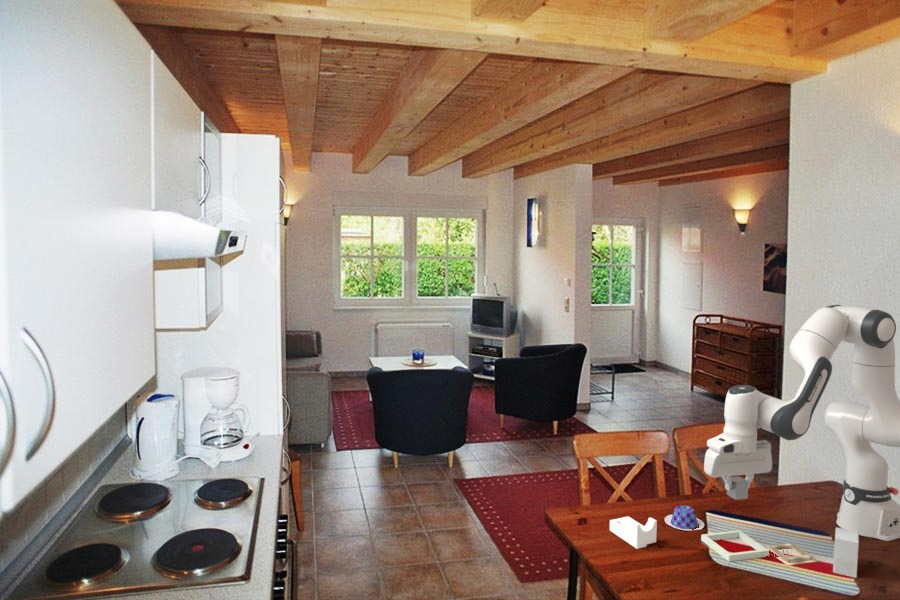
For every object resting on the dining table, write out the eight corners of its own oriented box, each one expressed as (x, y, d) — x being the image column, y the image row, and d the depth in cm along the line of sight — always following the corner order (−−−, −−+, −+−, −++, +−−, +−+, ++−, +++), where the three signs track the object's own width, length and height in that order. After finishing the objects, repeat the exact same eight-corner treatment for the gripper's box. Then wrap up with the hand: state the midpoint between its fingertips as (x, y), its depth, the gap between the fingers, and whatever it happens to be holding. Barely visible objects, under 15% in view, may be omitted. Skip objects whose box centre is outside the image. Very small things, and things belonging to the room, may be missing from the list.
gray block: (738, 493, 192) (739, 476, 191) (747, 498, 188) (748, 481, 187) (726, 494, 191) (727, 477, 190) (735, 499, 187) (736, 482, 186)
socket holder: (792, 547, 193) (792, 541, 193) (818, 563, 183) (818, 557, 183) (762, 550, 191) (763, 544, 191) (787, 567, 181) (787, 561, 181)
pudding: (689, 536, 200) (689, 520, 200) (656, 522, 210) (657, 506, 210) (712, 526, 207) (712, 510, 207) (679, 513, 217) (680, 497, 217)
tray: (739, 538, 199) (739, 530, 198) (768, 558, 186) (769, 550, 186) (701, 542, 196) (701, 534, 196) (728, 564, 183) (729, 555, 183)
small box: (856, 580, 175) (859, 543, 173) (832, 575, 178) (834, 537, 176) (856, 567, 181) (859, 531, 180) (833, 562, 184) (835, 526, 183)
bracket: (656, 545, 195) (656, 520, 194) (636, 549, 192) (637, 525, 191) (628, 527, 207) (628, 504, 206) (609, 531, 204) (610, 507, 203)
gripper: (763, 436, 193) (761, 481, 194) (701, 441, 188) (699, 487, 190) (778, 443, 187) (776, 489, 188) (715, 448, 182) (713, 496, 184)
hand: (737, 488), depth 189 cm, fingers closed on gray block, 4 cm apart
